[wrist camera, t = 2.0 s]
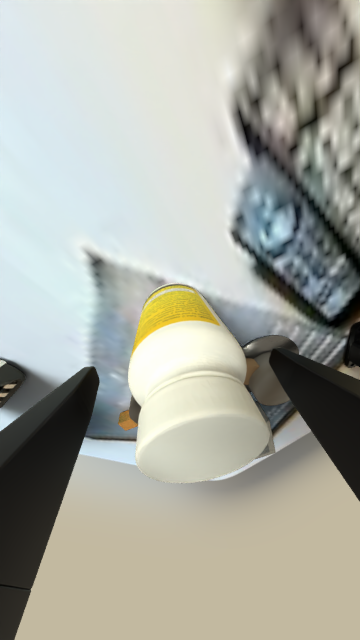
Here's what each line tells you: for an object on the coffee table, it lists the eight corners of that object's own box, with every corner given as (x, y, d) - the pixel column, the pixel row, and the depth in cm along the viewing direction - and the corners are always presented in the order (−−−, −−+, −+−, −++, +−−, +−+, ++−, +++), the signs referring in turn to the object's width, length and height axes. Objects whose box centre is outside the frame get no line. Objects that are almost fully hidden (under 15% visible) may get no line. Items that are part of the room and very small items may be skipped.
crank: (297, 354, 16) (349, 396, 12) (273, 387, 18) (310, 433, 14) (142, 333, 13) (133, 382, 8) (135, 376, 15) (125, 434, 10)
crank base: (296, 323, 15) (306, 329, 14) (297, 375, 19) (305, 383, 18) (104, 397, 17) (100, 408, 15) (140, 432, 20) (139, 442, 19)
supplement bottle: (129, 316, 13) (62, 477, 4) (173, 266, 11) (222, 346, 3) (175, 349, 15) (199, 501, 6) (218, 311, 13) (326, 436, 5)
